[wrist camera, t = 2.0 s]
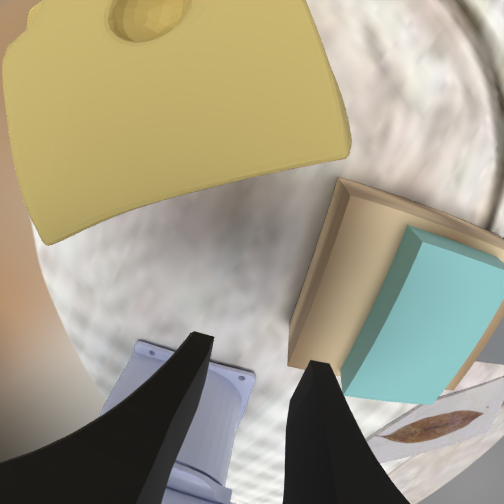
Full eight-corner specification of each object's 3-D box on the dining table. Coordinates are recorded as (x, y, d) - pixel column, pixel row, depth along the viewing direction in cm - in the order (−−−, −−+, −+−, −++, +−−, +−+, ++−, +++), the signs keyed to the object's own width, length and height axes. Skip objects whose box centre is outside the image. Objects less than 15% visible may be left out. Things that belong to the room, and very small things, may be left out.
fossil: (356, 468, 28) (358, 422, 24) (355, 459, 29) (357, 412, 25) (488, 431, 25) (517, 376, 21) (485, 423, 26) (512, 368, 22)
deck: (289, 324, 21) (287, 366, 17) (337, 176, 17) (350, 195, 13) (437, 353, 21) (453, 390, 17) (499, 235, 17) (531, 261, 13)
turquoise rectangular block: (340, 369, 17) (342, 395, 15) (407, 224, 13) (422, 241, 12) (424, 382, 17) (432, 404, 15) (497, 256, 13) (515, 274, 12)
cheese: (106, 30, 15) (-18, 2, 5) (282, -31, 12) (268, -142, 3) (148, 185, 18) (38, 256, 9) (331, 140, 16) (381, 176, 7)
